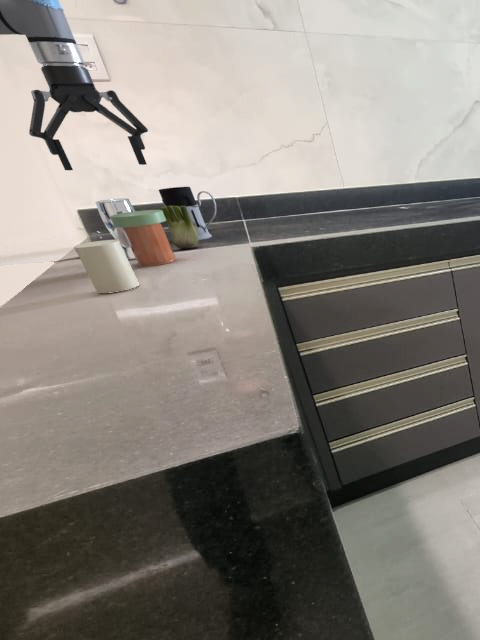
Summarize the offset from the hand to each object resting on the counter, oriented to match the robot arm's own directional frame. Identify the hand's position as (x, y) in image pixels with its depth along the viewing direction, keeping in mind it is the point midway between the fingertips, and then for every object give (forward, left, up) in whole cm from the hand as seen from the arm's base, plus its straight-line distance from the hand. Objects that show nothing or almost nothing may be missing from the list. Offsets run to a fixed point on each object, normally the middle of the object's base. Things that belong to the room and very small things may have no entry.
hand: (107, 167), depth 126 cm
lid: (+1, -1, -13) cm, 14 cm away
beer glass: (+1, +13, -24) cm, 27 cm away
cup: (+1, -1, -23) cm, 23 cm away
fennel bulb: (+12, +11, -24) cm, 29 cm away
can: (-13, -23, -23) cm, 35 cm away
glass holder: (+21, +25, -24) cm, 40 cm away
